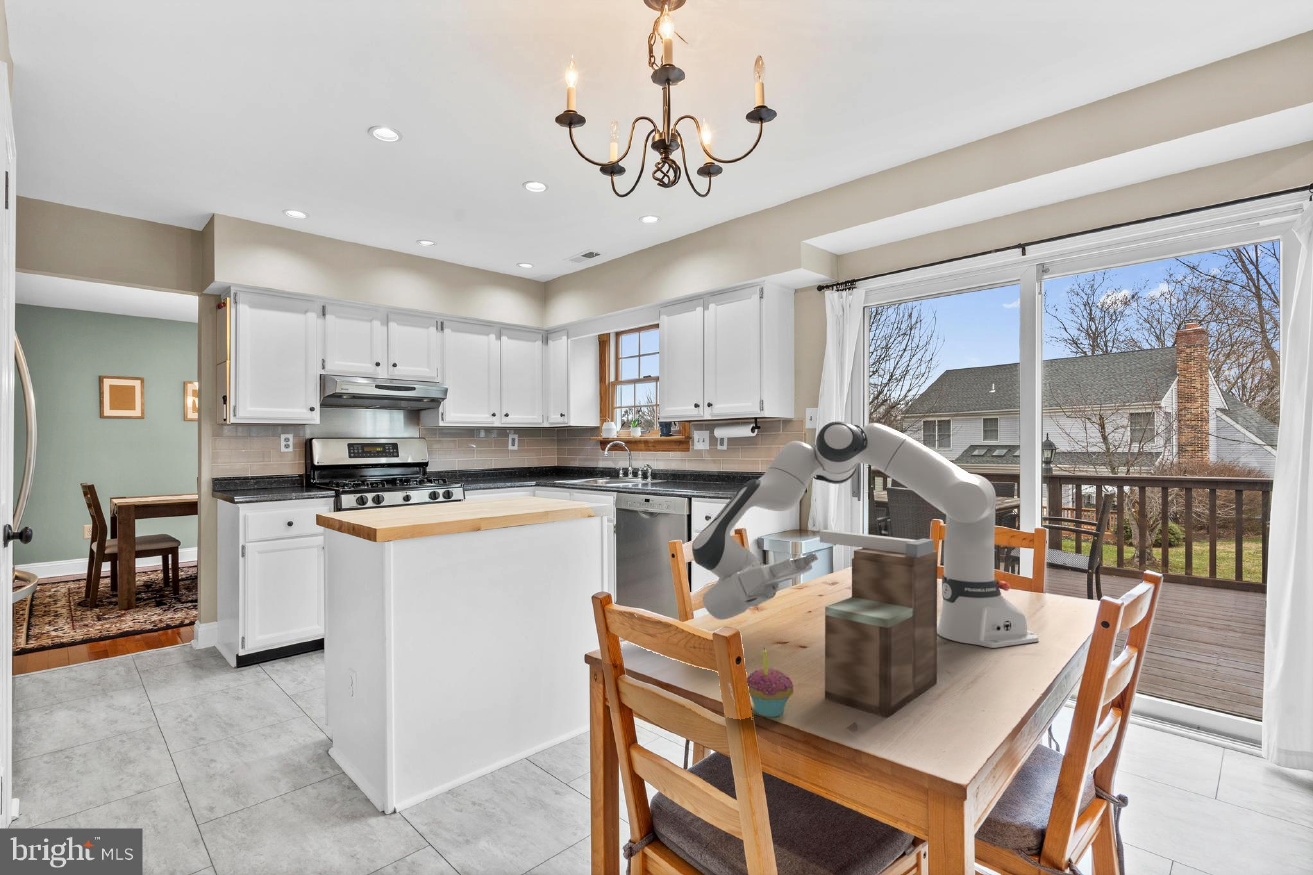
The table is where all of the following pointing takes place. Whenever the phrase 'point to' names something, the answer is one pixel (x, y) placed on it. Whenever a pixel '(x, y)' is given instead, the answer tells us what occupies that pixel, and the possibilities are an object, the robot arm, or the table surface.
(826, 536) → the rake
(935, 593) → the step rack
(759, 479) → the robot arm
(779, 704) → the cupcake
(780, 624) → the table surface
